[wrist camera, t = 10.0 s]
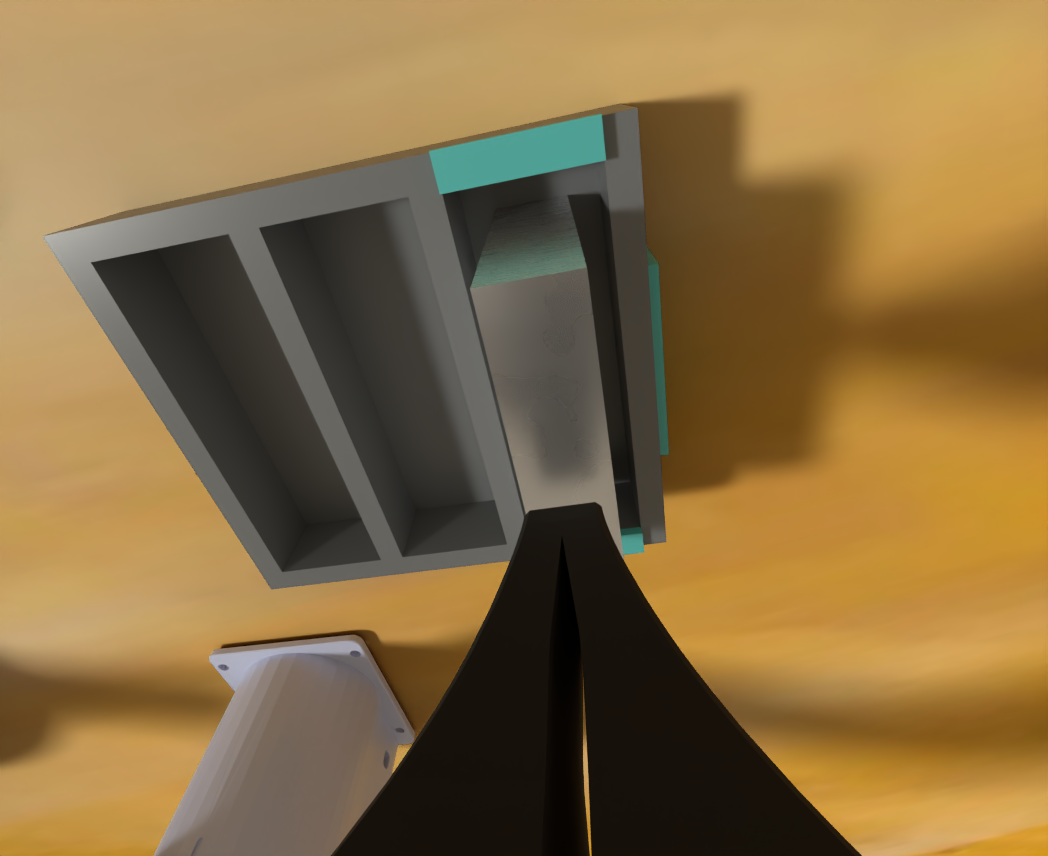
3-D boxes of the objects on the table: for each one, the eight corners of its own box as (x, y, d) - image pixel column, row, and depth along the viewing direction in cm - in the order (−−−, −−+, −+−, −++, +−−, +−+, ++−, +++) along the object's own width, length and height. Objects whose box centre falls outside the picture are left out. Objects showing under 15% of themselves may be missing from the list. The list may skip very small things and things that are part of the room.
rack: (658, 486, 21) (676, 548, 18) (301, 533, 23) (268, 596, 20) (631, 98, 14) (653, 102, 11) (120, 210, 16) (31, 236, 13)
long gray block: (605, 477, 20) (634, 641, 14) (552, 485, 20) (559, 648, 14) (567, 194, 15) (586, 267, 9) (496, 208, 15) (470, 288, 9)
